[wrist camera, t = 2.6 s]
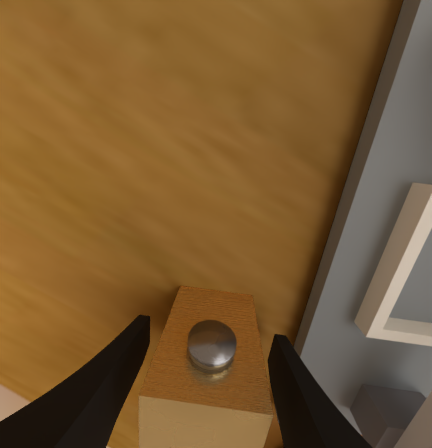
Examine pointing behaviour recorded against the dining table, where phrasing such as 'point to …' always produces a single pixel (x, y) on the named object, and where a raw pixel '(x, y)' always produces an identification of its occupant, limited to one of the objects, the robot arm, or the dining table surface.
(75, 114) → the dining table surface
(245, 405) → the block
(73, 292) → the dining table surface
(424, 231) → the shaft board
